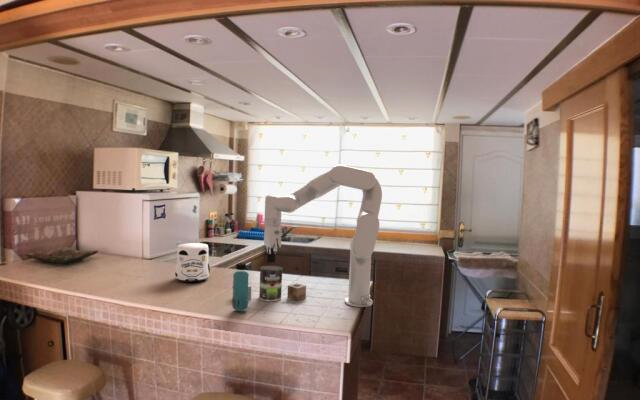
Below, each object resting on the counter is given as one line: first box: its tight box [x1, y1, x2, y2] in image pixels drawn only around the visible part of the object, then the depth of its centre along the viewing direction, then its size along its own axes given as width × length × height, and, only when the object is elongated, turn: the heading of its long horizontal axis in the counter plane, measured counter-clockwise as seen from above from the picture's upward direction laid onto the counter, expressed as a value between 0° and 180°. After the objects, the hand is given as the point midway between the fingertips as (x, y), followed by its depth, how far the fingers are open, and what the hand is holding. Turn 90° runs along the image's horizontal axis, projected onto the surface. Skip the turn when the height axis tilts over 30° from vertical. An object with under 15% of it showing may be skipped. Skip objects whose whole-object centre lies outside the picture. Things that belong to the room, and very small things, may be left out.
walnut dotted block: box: [286, 282, 307, 302], centre depth 179 cm, size 6×6×6 cm
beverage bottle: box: [231, 262, 250, 311], centre depth 159 cm, size 6×7×20 cm
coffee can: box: [258, 264, 284, 302], centre depth 177 cm, size 10×10×14 cm
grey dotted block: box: [248, 282, 252, 301], centre depth 176 cm, size 6×6×6 cm
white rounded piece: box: [174, 242, 211, 283], centre depth 201 cm, size 17×17×18 cm
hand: (270, 261), depth 177 cm, fingers closed
